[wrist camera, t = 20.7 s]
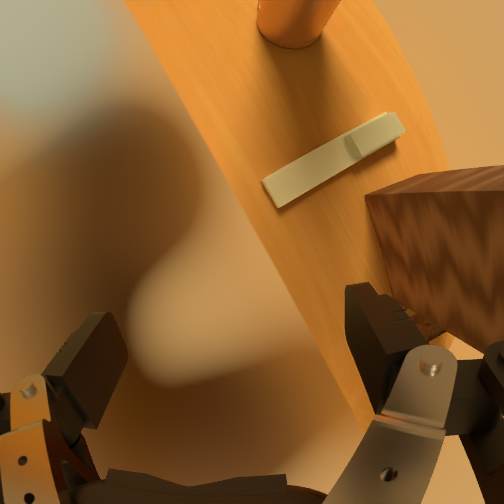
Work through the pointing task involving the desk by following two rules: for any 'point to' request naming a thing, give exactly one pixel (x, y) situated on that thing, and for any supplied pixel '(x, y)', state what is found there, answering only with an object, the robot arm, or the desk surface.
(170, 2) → the desk surface
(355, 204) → the desk surface
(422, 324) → the shard
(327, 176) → the cream plank with block
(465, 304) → the walnut stand
